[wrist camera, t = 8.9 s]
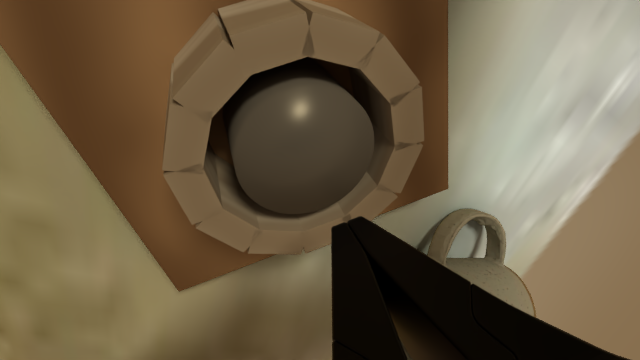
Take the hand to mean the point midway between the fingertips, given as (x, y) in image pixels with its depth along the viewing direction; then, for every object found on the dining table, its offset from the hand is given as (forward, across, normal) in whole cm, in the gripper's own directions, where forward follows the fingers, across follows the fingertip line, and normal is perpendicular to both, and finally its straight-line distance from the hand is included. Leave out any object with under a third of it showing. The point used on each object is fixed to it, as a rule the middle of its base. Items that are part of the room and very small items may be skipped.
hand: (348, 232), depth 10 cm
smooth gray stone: (+8, 0, 0) cm, 8 cm away
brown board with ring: (+10, 0, 0) cm, 10 cm away
